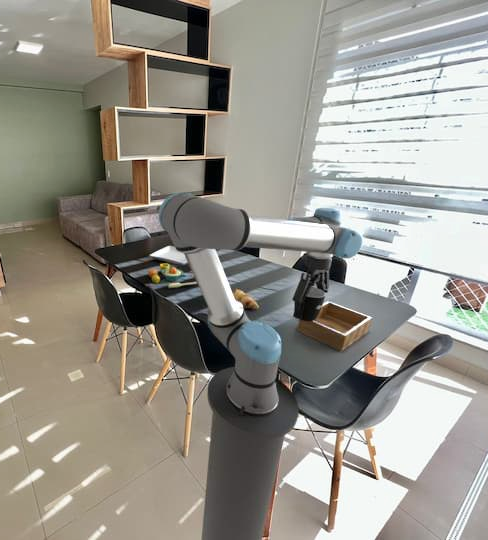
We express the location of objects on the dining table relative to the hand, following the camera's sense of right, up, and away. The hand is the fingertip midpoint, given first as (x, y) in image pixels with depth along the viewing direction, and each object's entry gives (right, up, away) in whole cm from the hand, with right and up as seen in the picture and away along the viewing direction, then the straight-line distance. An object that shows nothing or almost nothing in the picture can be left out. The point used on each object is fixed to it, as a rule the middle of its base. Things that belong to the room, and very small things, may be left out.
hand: (307, 312), depth 103 cm
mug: (0, -1, 0) cm, 1 cm away
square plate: (-39, +24, +100) cm, 110 cm away
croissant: (-14, -1, +37) cm, 39 cm away
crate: (+18, -10, +14) cm, 25 cm away
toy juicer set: (-46, +9, +63) cm, 78 cm away
